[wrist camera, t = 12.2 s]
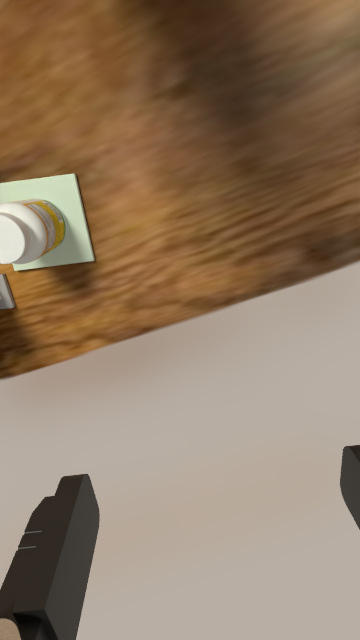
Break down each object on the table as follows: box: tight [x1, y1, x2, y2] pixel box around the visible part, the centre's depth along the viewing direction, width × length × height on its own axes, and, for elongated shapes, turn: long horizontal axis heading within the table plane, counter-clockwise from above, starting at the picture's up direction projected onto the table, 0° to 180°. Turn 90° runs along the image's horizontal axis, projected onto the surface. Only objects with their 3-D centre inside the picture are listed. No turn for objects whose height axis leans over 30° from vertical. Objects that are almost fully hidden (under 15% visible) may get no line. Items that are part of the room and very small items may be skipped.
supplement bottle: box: [0, 199, 67, 264], centre depth 31 cm, size 5×5×10 cm
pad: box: [0, 174, 95, 271], centre depth 36 cm, size 9×9×1 cm
